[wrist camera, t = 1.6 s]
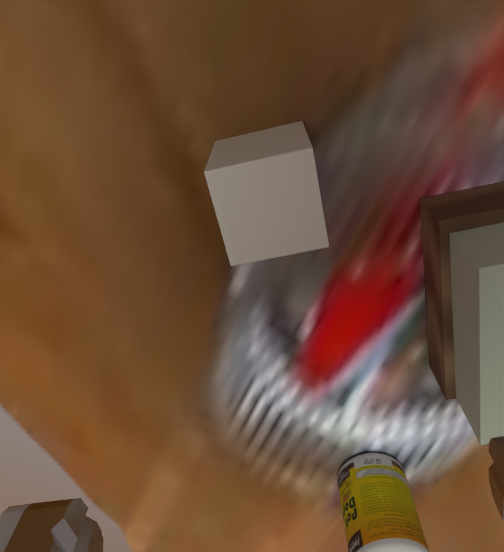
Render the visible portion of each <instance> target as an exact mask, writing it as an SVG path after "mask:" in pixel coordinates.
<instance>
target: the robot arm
mask: <svg viewBox="0 0 504 552" xmlns="http://www.w3.org/2000/svg"><path fill="white" fill-rule="evenodd" d="M489 453H490V455H491V457H492V459H493V461H494V463H493V464H492V465H491V466H490V467H489V482H490V487H491V491H492V496H493V498H494V501H495V504H496V506H497V509H498V511H499V513H500V515H501V517H502V519H503V521H504V436H500V437H494V438H491V440H490V441H489ZM87 509H88V507H87V506H86V505H85V503H84V502H83V500H82V499H81V498H77V499H68V500H59V501H50V502H42V503H32V504H25V505H17V506H10V507H8V508H7V509H6V510H5V511H4V512H3V513H2V514H1V516H0V552H103V536H102V532H101V529H100V527H99V525H98V524H97V522H96V521H94V520H92V519H91V518H89V517H87V516H85V515H86V512H87Z"/></svg>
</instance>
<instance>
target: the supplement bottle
mask: <svg viewBox="0 0 504 552" xmlns="http://www.w3.org/2000/svg"><path fill="white" fill-rule="evenodd" d="M338 486H339V493H340V499H341V505H342V512H343V518H344V524H345V530H346V537H347V543H348V549H349V552H429V549H428V546H427V543H426V540H425V537H424V533H423V530H422V527H421V524H420V521H419V517H418V514H417V511H416V507H415V504H414V501H413V498H412V495H411V492H410V488H409V485H408V482H407V479H406V476H405V473H404V470H403V468H402V466H401V465H400V463H399V462H398V461H397V460H395V459H394V458H392V457H390V456H388V455H385V454H381V453H366V454H361V455H358V456H355V457H353V458H351V459H350V460H348V461H347V462H346V463H345V464H344V465H343V466H342V467H341V469H340V471H339V474H338Z"/></svg>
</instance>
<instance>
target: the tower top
mask: <svg viewBox="0 0 504 552" xmlns="http://www.w3.org/2000/svg"><path fill="white" fill-rule="evenodd" d="M449 237H450V262H451V287H452V312H453V337H454V361H455V386H456V398H457V400H458V402H459V404H460V406H461V408H462V409H463V411H464V413H465V415H466V417H467V419H468V421H469V423H470V425H471V427H472V429H473V431H474V433H475V435H476V437H477V439H478V441H479V443H480V445H483V444H489V441H490V440H491V438H494V437H500V436H504V222H503V223H498V224H493V225H488V226H483V227H478V228H473V229H468V230H463V231H458V232H454V233H449Z"/></svg>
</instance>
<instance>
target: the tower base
mask: <svg viewBox="0 0 504 552" xmlns="http://www.w3.org/2000/svg"><path fill="white" fill-rule="evenodd" d="M420 209H421V227H422V244H423V261H424V279H425V296H426V314H427V331H428V348H429V366H430V368H431V370H432V372H433V374H434V376H435V378H436V380H437V382H438V384H439V386H440V388H441V390H442V392H443V395H444V397H445V399H446V400H447V399H454V398H456V386H455V361H454V337H453V312H452V287H451V262H450V237H449V233H454V232H458V231H463V230H468V229H473V228H478V227H483V226H488V225H493V224H498V223H503V222H504V182H499V183H494V184H489V185H484V186H479V187H474V188H469V189H464V190H459V191H454V192H449V193H444V194H439V195H434V196H429V197H424V198H420Z"/></svg>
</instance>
